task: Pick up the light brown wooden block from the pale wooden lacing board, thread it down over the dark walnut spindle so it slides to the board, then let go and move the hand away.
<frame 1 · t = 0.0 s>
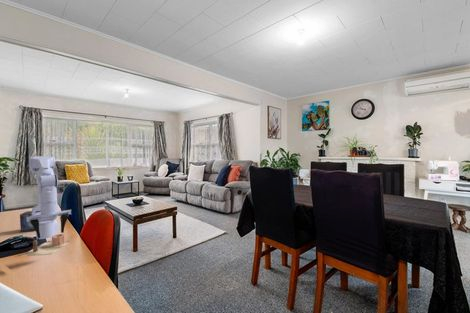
hand: (51, 235, 94), 11 cm above the table, tool pointing down, fingers open, 7 cm apart
small box: (34, 229, 131), on the table
board: (49, 249, 104), on the table
light brown wooden block: (59, 243, 107), point 1 cm above the table, touching board
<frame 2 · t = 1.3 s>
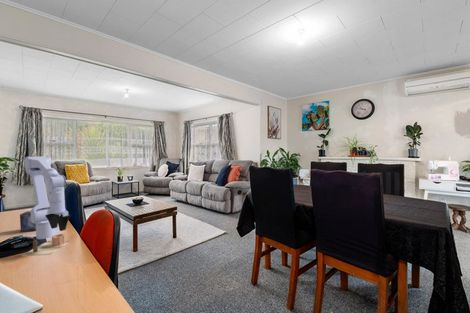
hand: (58, 229, 107), 9 cm above the table, tool pointing down, fingers open, 7 cm apart
nothing on the table moved.
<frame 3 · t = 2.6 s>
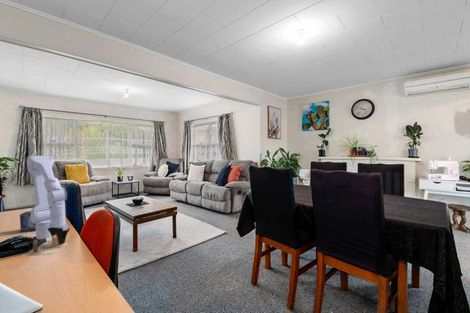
hand: (59, 242, 107), 2 cm above the table, tool pointing down, fingers closed on light brown wooden block, 5 cm apart
light brown wooden block: (59, 243, 107), point 1 cm above the table, touching board, gripper
everything else where it was.
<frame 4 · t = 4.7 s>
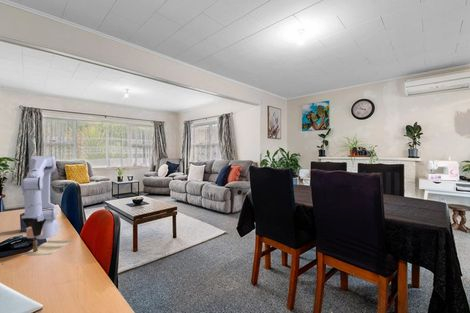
hand: (34, 234, 99), 9 cm above the table, tool pointing down, fingers closed on light brown wooden block, 5 cm apart
light brown wooden block: (34, 235, 99), point 8 cm above the table, touching gripper
everything else where it was.
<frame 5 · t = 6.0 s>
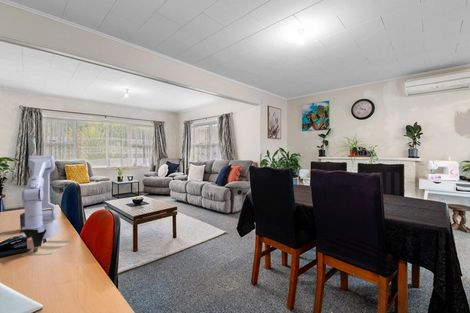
hand: (35, 245, 99), 4 cm above the table, tool pointing down, fingers closed on light brown wooden block, 5 cm apart
light brown wooden block: (35, 246, 99), point 3 cm above the table, touching gripper
everything else where it was.
when the fingers open (3 cm above the table, at t = 6.8 s): light brown wooden block drops 1 cm, resting on board.
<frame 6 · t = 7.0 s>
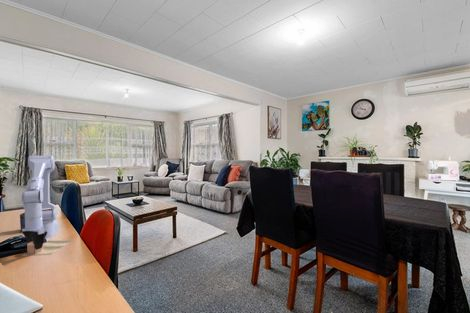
hand: (35, 246, 99), 3 cm above the table, tool pointing down, fingers open, 7 cm apart
light brown wooden block: (35, 251, 100), point 1 cm above the table, touching board
everything else where it was.
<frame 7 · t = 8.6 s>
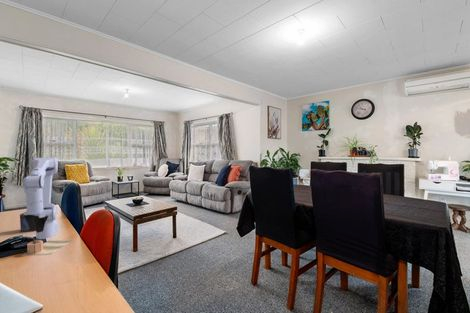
hand: (36, 230, 103), 9 cm above the table, tool pointing down, fingers open, 7 cm apart
nothing on the table moved.
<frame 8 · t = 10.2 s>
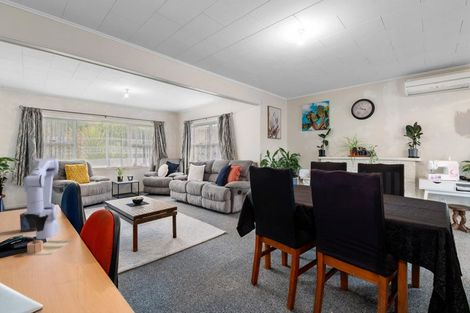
hand: (36, 229, 104), 9 cm above the table, tool pointing down, fingers open, 7 cm apart
nothing on the table moved.
at the end: light brown wooden block 0.0 cm from the target spot on the board, point 1.2 cm above the board's base; the gripper is holding nothing; light brown wooden block tilted 0° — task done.
